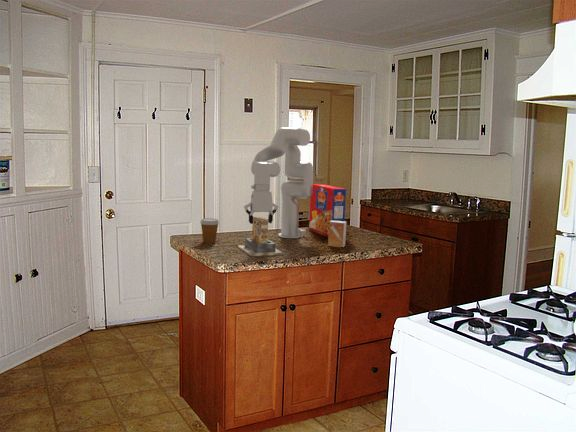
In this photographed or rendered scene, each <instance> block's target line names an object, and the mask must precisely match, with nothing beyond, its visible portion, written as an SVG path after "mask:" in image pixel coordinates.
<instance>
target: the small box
mask: <svg viewBox="0 0 576 432" xmlns="http://www.w3.org/2000/svg"><path fill="white" fill-rule="evenodd" d="M347 224H348V223H347V221H345V220H344V221H334V220H332V221H330V222H329V235H328V237H327V238H328V239H327V247H335V248H341V247H343V248H344V247H345V246H346V237H347Z"/></svg>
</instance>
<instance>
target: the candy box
mask: <svg viewBox="0 0 576 432" xmlns="http://www.w3.org/2000/svg"><path fill="white" fill-rule="evenodd" d="M251 226H252V228H251V229H252V234H251V238H252V241H253V242H255V243H256V244H265V243H267V242H268V240H269V238H268V235H269V233H268V232H269V222H268V218H265V217H261V216H253V224H252V225H251Z"/></svg>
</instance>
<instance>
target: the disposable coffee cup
mask: <svg viewBox="0 0 576 432" xmlns="http://www.w3.org/2000/svg"><path fill="white" fill-rule="evenodd" d="M219 223H220V222H219V219H218V218H211V217H210V218H207V217H206V218H201V220H200V225H201V233H202V243H203V244H208V245H209V244H210V245H211V244H212V245H213V244H216V241H217V233H218V227H219Z"/></svg>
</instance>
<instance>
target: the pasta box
mask: <svg viewBox="0 0 576 432" xmlns="http://www.w3.org/2000/svg"><path fill="white" fill-rule="evenodd" d="M346 197H347V188H344V187H339V186H338V187H337V186H334V185H328V184H324V183H313V191H312V196H311V197H310V198H309V199H310V200H309V202H310V203H309V224H308V225H309V226H308V230H309V231H310V232H313V233H316V234H318V233H319V235H321V236H323V235H324V236H323V237H326V236H327V238H328V235H329V222H330V221H332V220H334V221H345V214H346V213H345V212H346Z"/></svg>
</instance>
